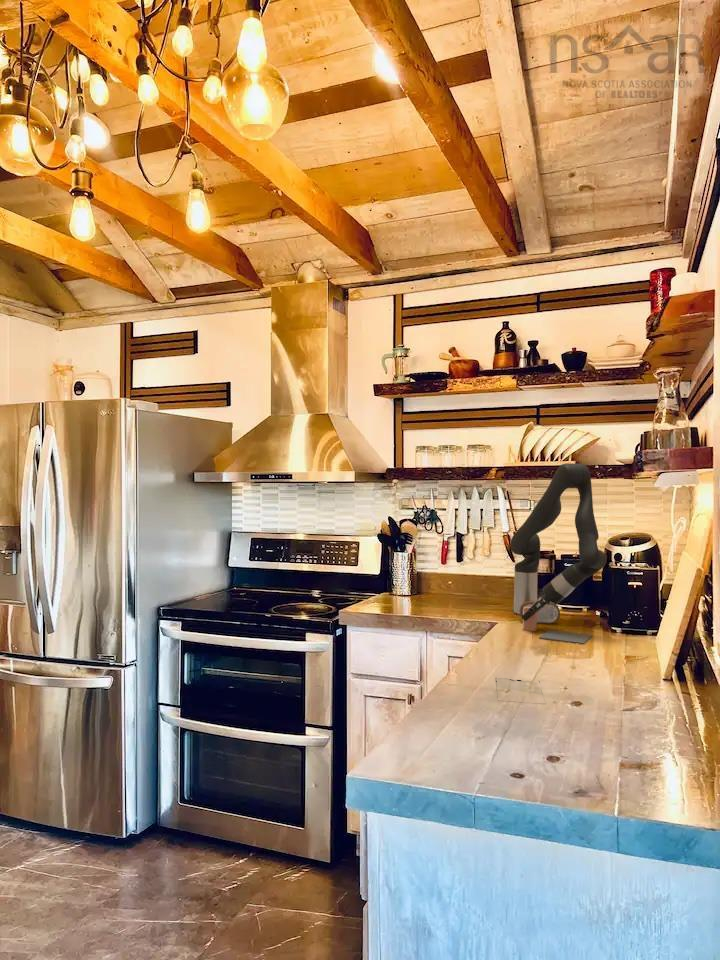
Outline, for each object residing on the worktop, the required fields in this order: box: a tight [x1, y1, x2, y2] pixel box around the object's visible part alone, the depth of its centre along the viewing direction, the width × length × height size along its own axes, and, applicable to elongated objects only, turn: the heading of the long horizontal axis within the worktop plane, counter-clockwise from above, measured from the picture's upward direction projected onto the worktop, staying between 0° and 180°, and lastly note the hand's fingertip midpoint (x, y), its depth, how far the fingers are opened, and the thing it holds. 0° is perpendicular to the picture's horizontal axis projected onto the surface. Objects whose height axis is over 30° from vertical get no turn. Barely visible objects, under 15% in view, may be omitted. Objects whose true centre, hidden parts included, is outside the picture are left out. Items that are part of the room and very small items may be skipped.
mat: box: [538, 629, 593, 645], centre depth 239 cm, size 14×15×1 cm
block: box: [522, 607, 538, 632], centre depth 251 cm, size 3×4×8 cm
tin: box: [519, 601, 561, 625], centre depth 263 cm, size 15×3×8 cm, turn 84°
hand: (524, 618), depth 252 cm, fingers closed on block, 3 cm apart
